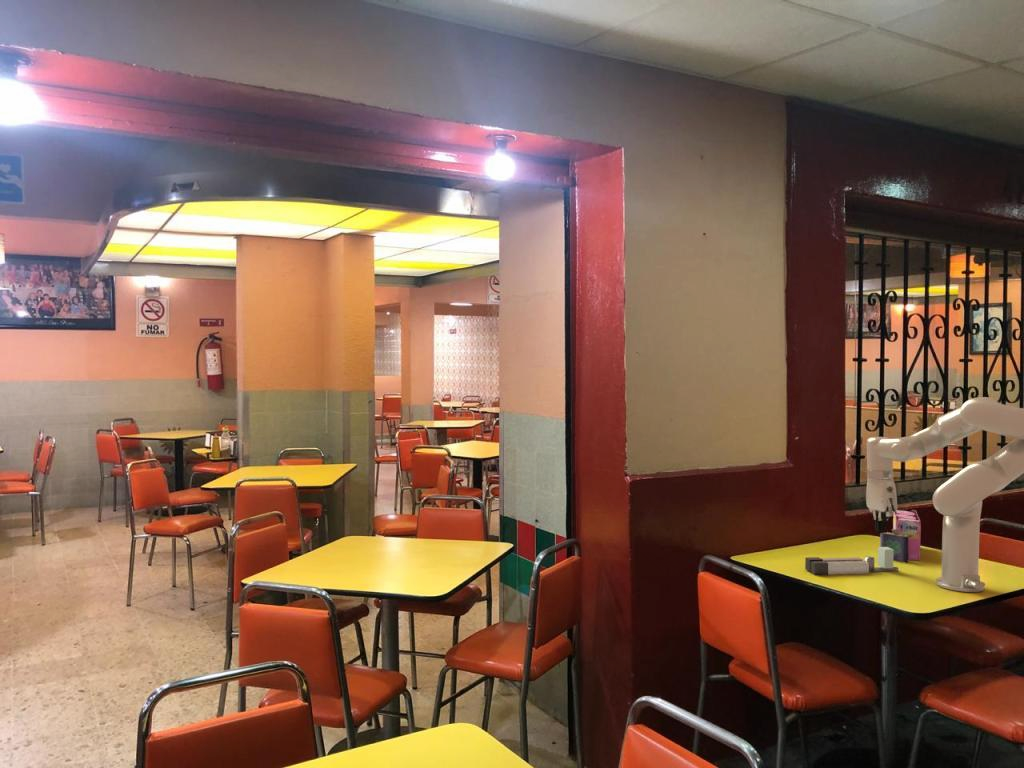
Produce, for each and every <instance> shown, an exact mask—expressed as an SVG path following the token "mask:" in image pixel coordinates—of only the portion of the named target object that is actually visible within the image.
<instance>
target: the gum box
mask: <svg viewBox="0 0 1024 768" xmlns="http://www.w3.org/2000/svg"><path fill="white" fill-rule="evenodd" d="M892 512H893V511H892ZM892 517H893V518H892V526H893V527H892V529H897V530H896V531H897V532H899V533H901V534H904V535H907V536H908V539H909V540H908V553H909V554H908V555H909V557H908V561H918V562H920V561H921V532H922V531H921V530H922V526H921V525H922V524H921V519H920V517H919V515H918V512H917V510H916V509H912V510H910V511H907V510H899V509H897V511H895V512H893V516H892Z"/></svg>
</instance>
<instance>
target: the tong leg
mask: <svg viewBox="0 0 1024 768" xmlns="http://www.w3.org/2000/svg"><path fill="white" fill-rule="evenodd" d="M804 560H805V562H804V564H805V566H804V570H806V571H808V572H810V568H811V561H825V562H834V561H864V558H861V557H859V556H858V557H856V556H855V557H825V558H824V557H821V558H820V557H819V556H817V557H815V556H814V557H812V556H811V557H809V556H808V557H805V558H804Z"/></svg>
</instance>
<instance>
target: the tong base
mask: <svg viewBox="0 0 1024 768" xmlns="http://www.w3.org/2000/svg"><path fill="white" fill-rule="evenodd" d="M898 571H899V567H897V566H893V568H883V567H880V566H878V567H875V557H874V556H864V560H863V561H834V562H825V561H811V568H810V571H809V572H810V574H812V575H814V576H829V575H831V576H832V575H863V574H864V575H865V574H866V575H867V574H870V573H875V572H898Z"/></svg>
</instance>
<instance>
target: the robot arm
mask: <svg viewBox="0 0 1024 768" xmlns="http://www.w3.org/2000/svg"><path fill="white" fill-rule="evenodd" d="M980 431H985V432H988V433H993V434H997V435H999V436H1004V437H1008V438H1011V439H1012V438H1013V440H1012V441H1010V442H1008V443H1007V444H1006V445H1004V446H1003V447H1002V448H999V450H998V451H996V452H995V453H994V454H992V455H991V456H989V457H988V458H986V459H982V460H980V461H979V460H978V461H975V462H972V463H970V464H968V465H967V466H965V467H964V468H962V469H961V470H960V471H958V472H957V473H955V474H954V475H953V476H952V477H950V478H949V479H947V480H946V481H945V482H943V483H942V484H941V485H940V486H938V488H936V490H935V491H934V493H933V495H932V504H933V507H934V509H935V510H936V511H937V512H938V513H939V514H941V515H943V517H942V532H941V533H942V534H941V535H942V536H941V537H942V539H941V577H938V578H936V579H935V584H936V585H937V587H940V588H943V589H947V590H951V591H954V592H964V593H979V592H983V591H984V590H985V587H986V583H985V582H984V581H981V575H979V565H980V561H979V559H980V558H979V557H980V554H979V553H980V528H981V527H980V526H981V525H980V523H981V514H982V507H983V500H985V499H987V498H988V497H989V496H991V495H992V494H994V493H998V492H1000V491H1001V490H1003V489H1004V488H1005V487H1007V486H1008V485H1009V484H1011V482H1014V481H1015V480H1016V479H1018V478H1019V477H1020V476H1022V475H1023V474H1024V408H1022V407H1016V406H1011V405H1006V404H1004V403H1000V402H998V400H996V399H994V398H993V397H987V396H984V397H983V396H982V397H981V396H980V397H973V398H970V399H968V400H966V401H965V402H964V403H963V404H962V405H961V406H960V407H958V408H955V409H953V410H952V411H950V412H947V413H945V414H943V415H940V416H939V417H937V418H936V419H935V422H934V423H933V424H932V425H930V426H928V427H926V428H924V429H923V430H920V431H917V432H916V433H914V434H912V435H909V436H903V437H896V438H890V437H886V436H871V437H870V436H869V438H867V440H866V470H867V471H866V477H867V482H866V491H865V501H866V502H865V503H866V507H867V508H868V512H870V513H872V516H873V520H874V532H875V533H877V534H880V533H887V532H888V521H889V518H890V517H893V512H895V511H897V510H898V495H897V488H896V483H895V480H894V462H898V463H900V462H901V463H905V462H909V461H910V462H911V461H914V460H919V459H921V458H923V457H926V456H928V455H930V454H932V453H935V452H937V451H939V450H941V449H942V448H943V449H944V448H945V447H947V446H949V445H952V444H955V443H956V442H959V441H960V440H962V439H965V438H966V437H969V436H971V435H973V434H975V433H978V432H980Z"/></svg>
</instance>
